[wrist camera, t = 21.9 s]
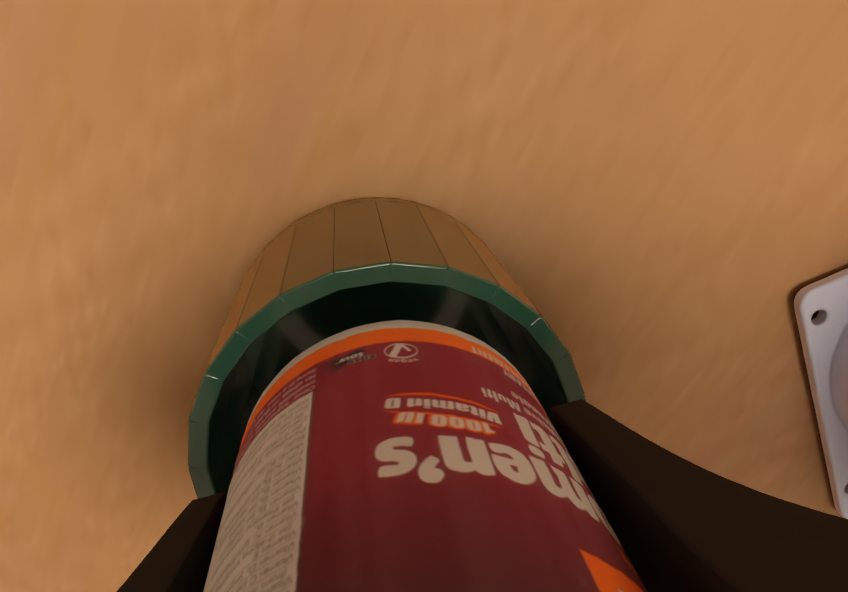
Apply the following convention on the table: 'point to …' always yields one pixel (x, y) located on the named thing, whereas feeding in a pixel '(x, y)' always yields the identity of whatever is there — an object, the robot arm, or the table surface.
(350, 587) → the pill bottle
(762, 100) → the table surface
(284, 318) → the green round pot
